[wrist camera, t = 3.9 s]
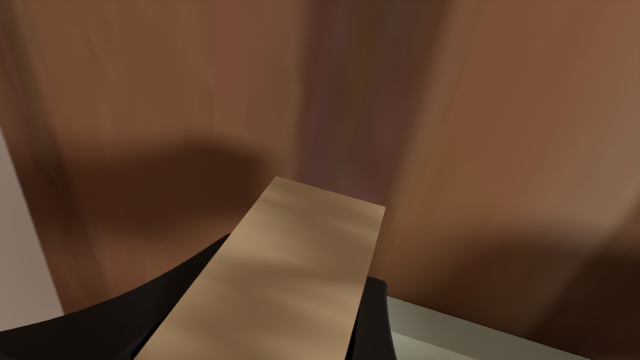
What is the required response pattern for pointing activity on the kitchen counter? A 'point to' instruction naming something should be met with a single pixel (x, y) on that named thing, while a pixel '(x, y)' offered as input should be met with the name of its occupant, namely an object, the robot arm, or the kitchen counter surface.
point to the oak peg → (277, 282)
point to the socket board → (457, 338)
